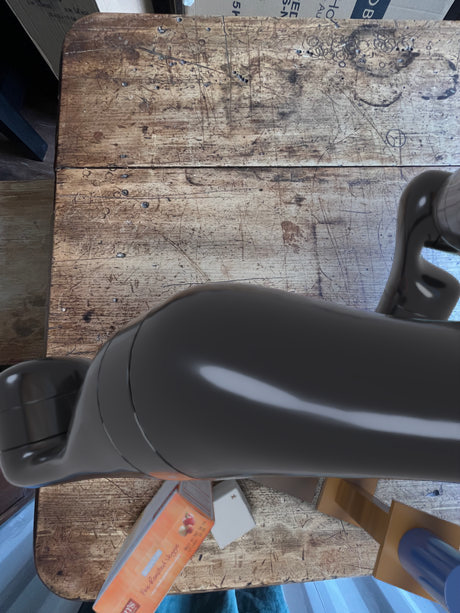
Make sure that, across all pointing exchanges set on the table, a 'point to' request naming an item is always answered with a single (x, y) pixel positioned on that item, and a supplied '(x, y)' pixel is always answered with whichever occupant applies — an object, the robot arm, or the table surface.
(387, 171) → the table surface
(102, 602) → the cracker box
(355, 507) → the stand
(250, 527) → the product box
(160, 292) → the table surface
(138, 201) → the table surface
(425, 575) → the blue plastic cylinder
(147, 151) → the table surface
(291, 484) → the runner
